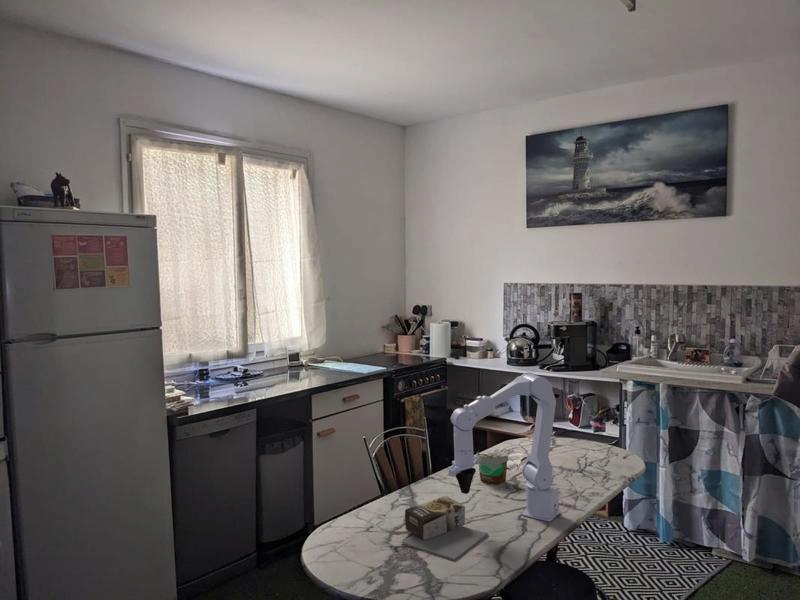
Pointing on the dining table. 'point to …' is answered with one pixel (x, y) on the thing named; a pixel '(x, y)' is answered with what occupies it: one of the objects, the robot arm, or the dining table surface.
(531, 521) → the dining table surface
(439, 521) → the coffee box
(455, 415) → the robot arm
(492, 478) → the food container
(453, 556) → the mat
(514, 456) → the cloth
